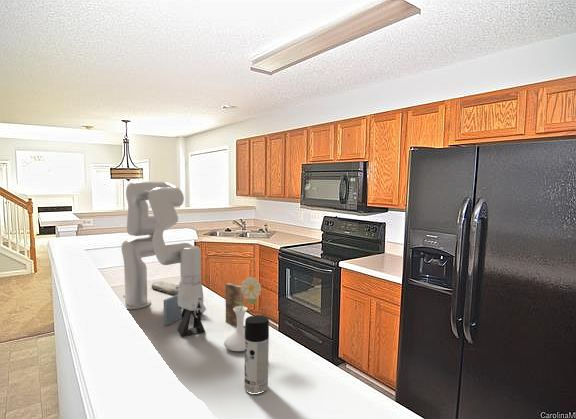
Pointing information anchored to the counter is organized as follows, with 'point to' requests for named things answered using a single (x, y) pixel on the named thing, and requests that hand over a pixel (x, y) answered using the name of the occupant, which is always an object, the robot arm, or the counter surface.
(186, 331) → the phone stand
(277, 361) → the counter surface
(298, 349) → the counter surface
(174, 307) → the blue rectangular panel
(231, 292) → the brown wooden blocks
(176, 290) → the long grey stone
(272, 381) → the counter surface
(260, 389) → the spray can
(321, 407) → the counter surface
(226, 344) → the flower in vase
